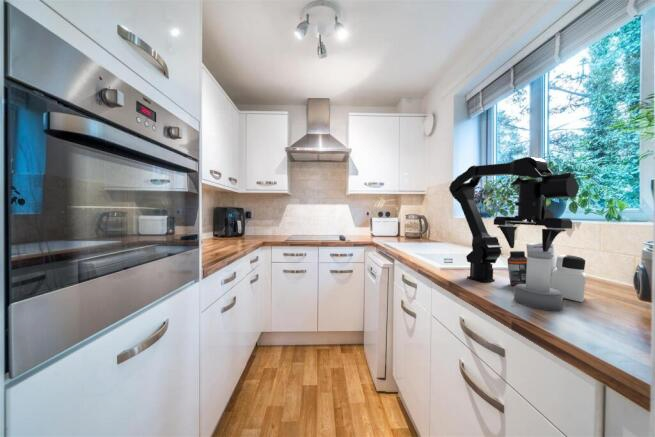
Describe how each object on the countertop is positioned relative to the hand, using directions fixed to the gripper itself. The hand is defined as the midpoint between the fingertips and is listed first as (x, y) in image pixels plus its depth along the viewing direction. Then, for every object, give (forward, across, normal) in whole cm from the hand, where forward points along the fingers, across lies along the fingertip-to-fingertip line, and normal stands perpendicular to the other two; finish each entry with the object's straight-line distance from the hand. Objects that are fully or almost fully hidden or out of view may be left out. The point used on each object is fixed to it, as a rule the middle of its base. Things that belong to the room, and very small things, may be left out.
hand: (527, 250), depth 78 cm
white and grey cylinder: (+9, -8, +8) cm, 14 cm away
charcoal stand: (+13, -8, +8) cm, 17 cm away
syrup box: (+13, 0, -9) cm, 16 cm away
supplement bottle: (+13, +5, -6) cm, 15 cm away
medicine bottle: (+13, -6, -7) cm, 16 cm away
